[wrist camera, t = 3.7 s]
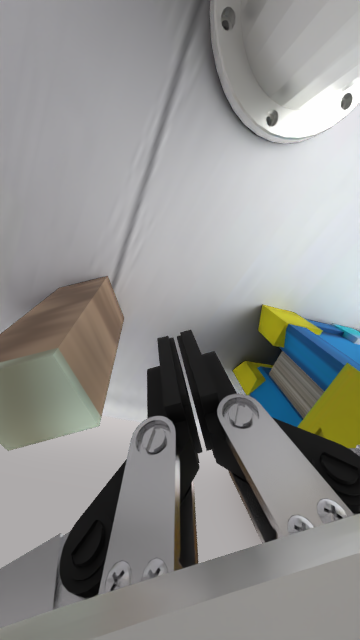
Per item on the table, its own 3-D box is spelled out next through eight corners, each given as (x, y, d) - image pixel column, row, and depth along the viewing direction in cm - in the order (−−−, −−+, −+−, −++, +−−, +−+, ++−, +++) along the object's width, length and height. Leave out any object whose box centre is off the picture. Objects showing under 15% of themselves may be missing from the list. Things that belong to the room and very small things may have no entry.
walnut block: (107, 276, 18) (52, 355, 8) (124, 318, 20) (99, 426, 10) (59, 287, 18) (-65, 385, 8) (80, 329, 20) (8, 450, 10)
